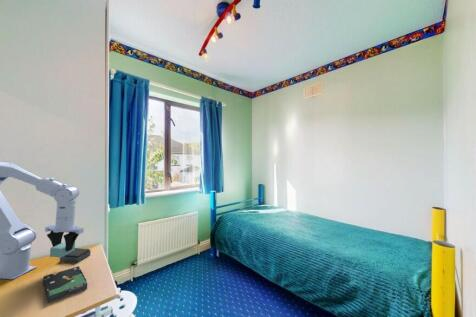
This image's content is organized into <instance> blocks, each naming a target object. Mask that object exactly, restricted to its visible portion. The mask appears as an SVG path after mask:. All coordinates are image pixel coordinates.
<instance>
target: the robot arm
mask: <svg viewBox="0 0 476 317" xmlns="http://www.w3.org/2000/svg"><path fill="white" fill-rule="evenodd" d="M8 178H13V179H16V180H18V181H21V182H24V183H27V184H29V185H32V186H34V187H35V189H36V191H38V192H40V193H43V194H45V195H47V196H50V197H52V198H53V199H54V201H55V202H56V214H55V224H54V225H53V224H50V225H47V226H45V227H44V232H46V233H47V232H49V233H47V234H46V237H47V238H48V239H49V240H50V242H51V245H52V247H54V246H56V245H58V244H61V243H62V242H63V240H62V239H63V238H64V242H65V243H66V247H65V249H66V251H70V250H72V247H73V245H74V242H75V243H76V240H77V238H78V237H79V236H80V234H83V233H84V231H85V227H82V226H81V227H80V226H77V225H75V216H76V202H77V198H78V197H79V195H80V190H79V189H78V188H77V187H76V186H74V185H70V186H68V184H67V183H61V182H59V181H57V180H56V178H55V177H44V178H43V177H40V176H38V175H36V174H34V173H32V172H30V171H28V170H26V169H24V168H23V167H20V166H19V165H18V164H16V163H12V162H10V161H6V160H2V161H1V160H0V186H1V185H2V184H3V182H4V181H6V180H7V179H8ZM64 233H65V234H64ZM66 233H67V234H66ZM36 238H37V232H36V230H34V229H33V228H31V227H30V226H29V225H28V224H26V223H24V222H21V221H20V220H19V218H18V217H17V215H16V213H15V211H14V210H13V208H12V207H11V204H9V202H8V200H7V199H6V197H5V196H4V194H3V193H2V191H1V190H0V279H4V280H5V279H6V280H15V279H17V278H19V277H21V276H23V275H24V274H26V273H28V272H30V271H32V270H34V269H36V268H37V266H36V265H30V263H31V251H32V243H33V242H34V241H35V240H36Z"/></svg>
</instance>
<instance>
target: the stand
mask: <svg viewBox="0 0 476 317" xmlns="http://www.w3.org/2000/svg"><path fill="white" fill-rule="evenodd" d="M91 252H92V250H90V249H89V248H80V247H75V250H74V251H72V252H71V253H69V254H67V255H65V256H63V257H59V262H62V263H63V262H64V263H76V264H77V263H78V264H79V262H81V261H83V260H84V259H86V258H87V257H90V256H91Z"/></svg>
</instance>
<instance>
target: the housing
mask: <svg viewBox="0 0 476 317" xmlns="http://www.w3.org/2000/svg"><path fill="white" fill-rule="evenodd" d="M75 245H76V241H75V242H74V245H73V247H72V250H70V251H66V249H65V247H66V243H65V241H62V242H61V244H58V245H56V246H54V247H53V246H52V247H50V249H49V252H50V253H49V257H51V258H60V257H63V256H65V255H67V254H69V253H71V252H72V251H74V250H75V248H76V246H75Z"/></svg>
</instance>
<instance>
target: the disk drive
mask: <svg viewBox="0 0 476 317" xmlns="http://www.w3.org/2000/svg"><path fill="white" fill-rule="evenodd" d="M42 278H43V279H42V285H43V287H44V292H45V293H44V294H45V298H46V299H45V300H46V301H47V302H46V303H47V304H50V303H52V302H54V301H57V300H58V301H59V300H60V299H63V298H65V297H68V296H72V295H73V294H74V295H75V294H77V293H79V292H82V291H84V290H87V289H88V282H87V279H86V277H85V275H84V273H83V271H82V269H81V268H80V266H79V265H78V266H75V267H71V268H68V269H65V270H60V271H59V272H57V273H55V274H53V273H51V274H47V275H44V276H43V277H42Z"/></svg>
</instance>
